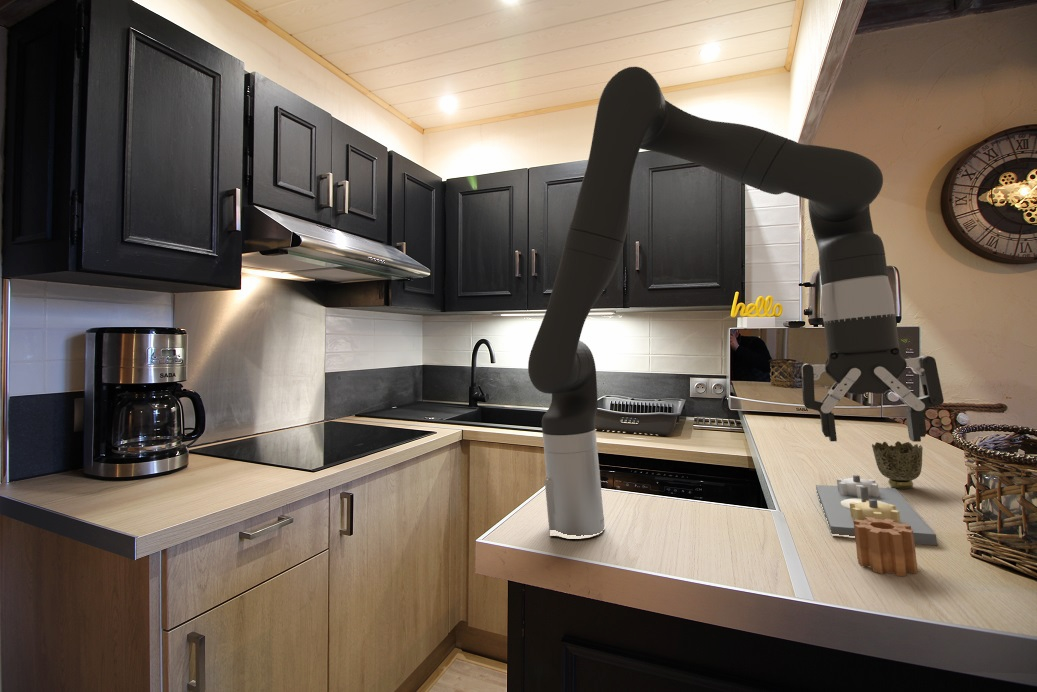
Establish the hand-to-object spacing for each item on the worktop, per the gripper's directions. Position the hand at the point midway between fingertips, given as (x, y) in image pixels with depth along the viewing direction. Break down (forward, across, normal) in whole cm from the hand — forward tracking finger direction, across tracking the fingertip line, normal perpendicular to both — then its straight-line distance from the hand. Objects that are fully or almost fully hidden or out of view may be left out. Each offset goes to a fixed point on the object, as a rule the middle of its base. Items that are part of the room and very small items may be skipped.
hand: (872, 440), depth 59 cm
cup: (+16, +9, +37) cm, 41 cm away
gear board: (+16, +1, +19) cm, 25 cm away
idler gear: (+16, 0, 0) cm, 16 cm away
